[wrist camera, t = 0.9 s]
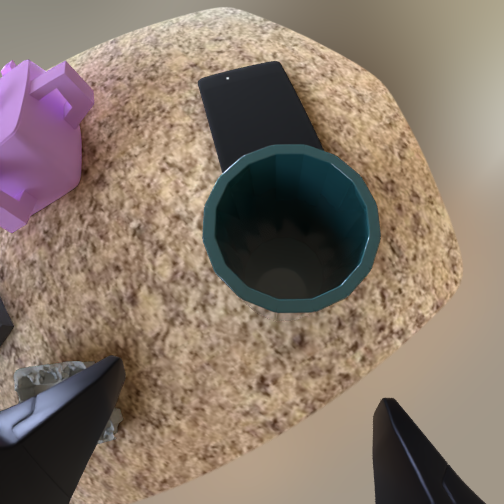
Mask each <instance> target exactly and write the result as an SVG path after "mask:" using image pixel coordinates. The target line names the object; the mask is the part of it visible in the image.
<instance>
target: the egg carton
mask: <svg viewBox="0 0 504 504" xmlns="http://www.w3.org/2000/svg"><path fill="white" fill-rule="evenodd" d="M93 364H95V362H94V361H90V362H79V361H69V362H62V363H55V364H47V365H41V366H32V367H26V368H21V369H18V370H16V372H15V374H14V377H13V378H14V382H15V391H17V393H18V396H19V403H21V402H23V401H25V400H27V399H29V398H31V397H33V396H36V395H37V394H39V393H41V392H43V391H45V390H47V389H48V388H50V387H52V386H54V385H56V384H58V383H60V382H62V381H63V380H65V379H67V378H69V377H71V376H73V375H75V374H77V373H78V372H80V371H82V370H84V369H86V368H88V367H89V366H91V365H93ZM19 403H18V404H19ZM122 420H123V417H122V414H121V410H120V409H116V408H114V410H113V413H112V415H111V417H110V419H109V421H108V423H107V425H106V427H105V429H104V431H103V433H102V435H101V437H100V439H99V441H98V443H97V444H100V443H103V442H107V441H111V440H114V439H116V438H115V437H114V436H113V434H115V433H117V426H118V424H119V423H120V422H121V421H122Z"/></svg>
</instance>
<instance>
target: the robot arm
mask: <svg viewBox="0 0 504 504" xmlns="http://www.w3.org/2000/svg"><path fill="white" fill-rule="evenodd" d="M125 376H126V374H125V370H124V366H123V361H122V359H121V358H120V357H117V356H113V355H110V356H108V357H106V358H104V359H102V360H101V361H99V362H97V363H95V364H93V365H91V366H89V367H88V368H86V369H84V370H82V371H80V372H78V373H77V374H75V375H73V376H71V377H69V378H67V379H65V380H63V381H62V382H60V383H58V384H56V385H54V386H52V387H50V388H48V389H47V390H45V391H43V392H41V393H39V394H37V395H36V396H33V397H31V398H29V399H27V400H25V401H23V402H21V403H19V404H17V405H15V406H12V407H10V408H7V409H5V410H2V411H0V504H69V502H70V500H71V499H70V498H71V497H72V495H73V493H74V491H75V489H76V486H77V484H78V482H79V480H80V478H81V476H82V474H83V472H84V469H85V467H86V465H87V463H88V461H89V459H90V457H91V455H92V453H93V451H94V449H95V447H96V445H97V443H98V441H99V439H100V437H101V435H102V433H103V431H104V429H105V427H106V425H107V423H108V421H109V419H110V417H111V415H112V413H113V410H114V408H115V405H116V402H117V399H118V397H119V394H120V391H121V389H122V386H123V383H124V381H125ZM447 464H448V463H447V462H446V461H445V459H444V458H443V457H442V456H441V454H440V453H439V452H438V451H437V450H436V448H435V447H434V446H433V445H432V444H431V442H430V441H429V440H428V439H427V437H426V436H425V435H424V434H423V432H422V431H421V430H420V429H419V428H418V426H417V425H416V424H415V423H414V422H413V420H412V419H411V418H410V417H409V415H408V414H407V413H406V412H405V411H404V410H403V408H402V407H401V406H400V405H399V403H398V402H397V401H396V400H395V399H394V398H383V399H382V400H381V401H380V403H379V405H378V407H377V409H376V411H375V413H374V416H373V469H374V482H375V500H376V501H375V502H376V504H486V503H485V502H483V501H482V500H481V499H480V498H479V497H478V496H477V495H476V494H475V493H474V492H473V491H472V490H471V489H470V488H469V487H468V486H467V485H466V484H465V483H464V482H463V481H462V480H461V478H460V477H459V476H458V475H457V474H456V473H455V471H454V470H453V469H452V468H451V467H450V465H447Z"/></svg>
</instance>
